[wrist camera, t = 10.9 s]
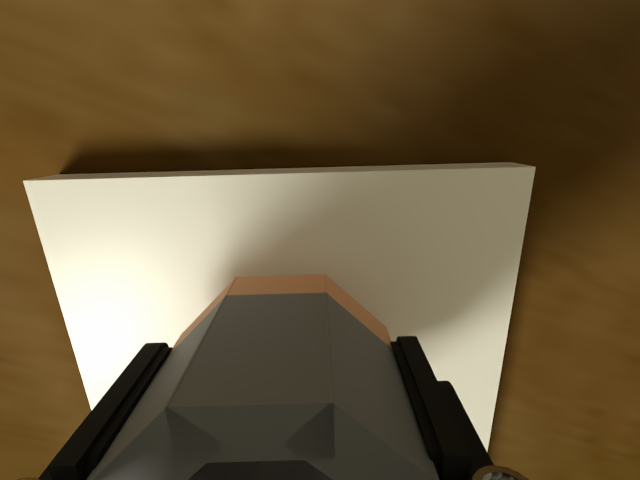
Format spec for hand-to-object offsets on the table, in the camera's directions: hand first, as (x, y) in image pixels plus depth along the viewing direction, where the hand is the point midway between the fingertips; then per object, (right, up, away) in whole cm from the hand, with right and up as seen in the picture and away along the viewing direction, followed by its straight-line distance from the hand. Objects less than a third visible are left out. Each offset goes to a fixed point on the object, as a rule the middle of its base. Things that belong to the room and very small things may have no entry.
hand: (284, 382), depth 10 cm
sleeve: (0, 0, +1) cm, 1 cm away
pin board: (0, -5, +6) cm, 7 cm away
